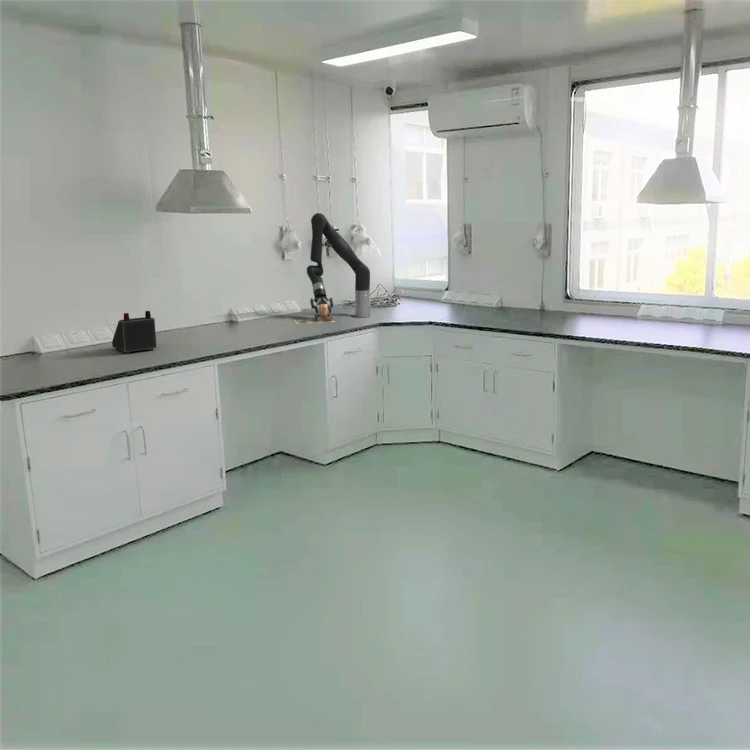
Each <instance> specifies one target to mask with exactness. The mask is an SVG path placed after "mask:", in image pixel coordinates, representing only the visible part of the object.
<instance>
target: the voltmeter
mask: <svg viewBox="0 0 750 750" xmlns="http://www.w3.org/2000/svg"><path fill="white" fill-rule="evenodd" d="M129 314H130V313H129V312H124V313H123V319H120V320H118V322H117V325H116V328H115V331H114V335H113V338H112V341H111V347H112V348H114V349H115V350H116V351H121V352H125V354H126V355H130V354H131V352H135V351H144V350H148V351H149V352H152V351H154V349H157V346H158V345H157V334H156V321H155V318H154V317H151V316H152V315H151V310H145V314H144V317H137V318H136V317H135V318H130V315H129Z"/></svg>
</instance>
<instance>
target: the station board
mask: <svg viewBox="0 0 750 750" xmlns="http://www.w3.org/2000/svg"><path fill="white" fill-rule="evenodd" d="M292 321H294V323H295V324H297V325H298V324H317V323H319V324H320V323H322V324H323V323H336V321H335V320H334V319H333V316H332V315H331V313H328V316H325V317H319V314H314V317H313V318H302V319H293V320H292Z"/></svg>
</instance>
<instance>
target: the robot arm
mask: <svg viewBox="0 0 750 750" xmlns="http://www.w3.org/2000/svg"><path fill="white" fill-rule="evenodd" d="M310 223H311V232H312V233H311V236H312V237H311V246H310V247H311V248H310V261H311V262H313V263H316V265H313V264H311V265H308V266H307V267H306V274H307V277H308V278H309V280H310V281H311V282H310V283H311V286H312V293H313V297H314V298H310V300H309V302H310V303H309V304H310V307H311V309H314V312H315V314H316V315H319V304H327V306H328V314H331V313H332V308H334V302H333V297H330V298H328V297H327V292H326V287H325V284H324V281H323V278H322V276H323V274H324V268H323V263H322V257H323V256H322V255H323V236H324V237H325V239H326V240H327V243H329V245H330V246H331V248H332V249H333V251H335V253H336V254H337V255H338V256H339V258H341V259H342V260H343V261H344V262H346V263H347V265H348V266H349V267H350V268H351V270H352V271H353V273H354V274H355V275H354V276H355V283H354V284H355V285H354V286H355V287H354V288H355V289H354V290H355V291H354V293H355V294H354V296H355V297H354V305H355V306H354V307H355V309H354V311H355V312H354V313H355V314H354V315H355V316H354V317H355V318H356V317H357V318H371V301H370V294H371V293H370V286H371V272H370V268H369V267H368V266H367V265H366V264H365V263H364V262H363V261H361V260H360V258H359V257H358V256H357V255H356V253H355V252H354V250H353V249H352V247H351V246H350V244H349V243H348V242H347V241H346V240H345V238H344V237H343V236H342V235H341V234H340V233H339V232H338V231H337V230H336V229H334V227H333V226H332V225H331V224H330V222H329V220H328V219H327V217H326V216H325V214H323V213H320V212H318V213H315V214H313V215H312V217H311V218H310ZM314 303H315V304H314Z"/></svg>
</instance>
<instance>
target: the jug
mask: <svg viewBox="0 0 750 750" xmlns="http://www.w3.org/2000/svg"><path fill="white" fill-rule="evenodd" d="M328 314H329V310H328V306H327V304H319V305H318V315H319V317H325V316H328Z"/></svg>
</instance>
